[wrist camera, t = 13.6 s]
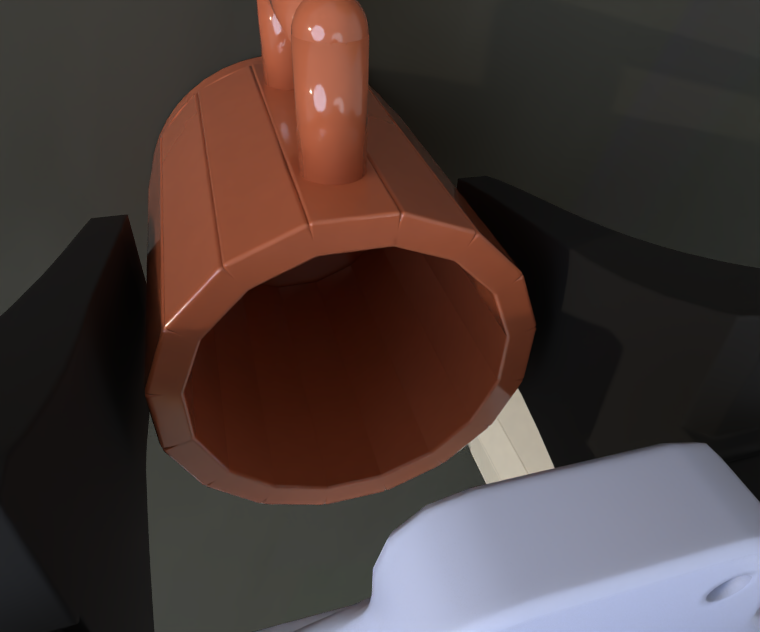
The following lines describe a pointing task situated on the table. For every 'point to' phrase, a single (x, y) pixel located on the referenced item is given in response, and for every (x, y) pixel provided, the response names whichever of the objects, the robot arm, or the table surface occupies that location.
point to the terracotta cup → (318, 279)
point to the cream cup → (510, 445)
